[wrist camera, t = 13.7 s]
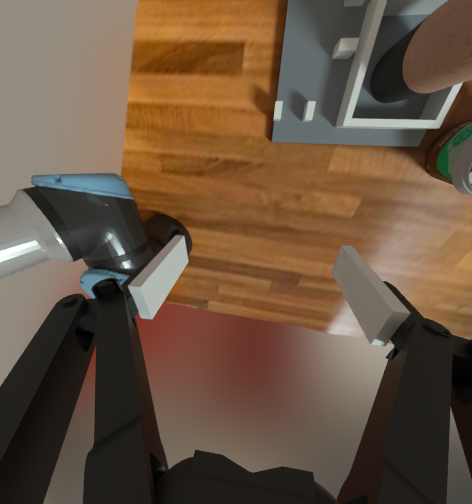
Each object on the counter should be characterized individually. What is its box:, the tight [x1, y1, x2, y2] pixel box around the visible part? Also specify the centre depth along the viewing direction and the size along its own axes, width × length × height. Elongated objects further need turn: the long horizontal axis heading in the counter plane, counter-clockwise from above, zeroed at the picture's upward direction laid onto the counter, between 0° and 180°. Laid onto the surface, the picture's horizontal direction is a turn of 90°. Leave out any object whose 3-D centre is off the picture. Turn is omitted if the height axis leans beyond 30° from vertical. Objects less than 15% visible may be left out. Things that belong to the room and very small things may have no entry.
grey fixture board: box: [272, 0, 431, 147], centre depth 29 cm, size 26×19×2 cm
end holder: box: [335, 0, 463, 130], centre depth 26 cm, size 14×14×4 cm
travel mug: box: [370, 0, 472, 103], centre depth 19 cm, size 8×8×20 cm
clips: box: [273, 0, 365, 122], centre depth 27 cm, size 10×14×3 cm
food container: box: [425, 120, 472, 194], centre depth 28 cm, size 12×6×10 cm, turn 158°
